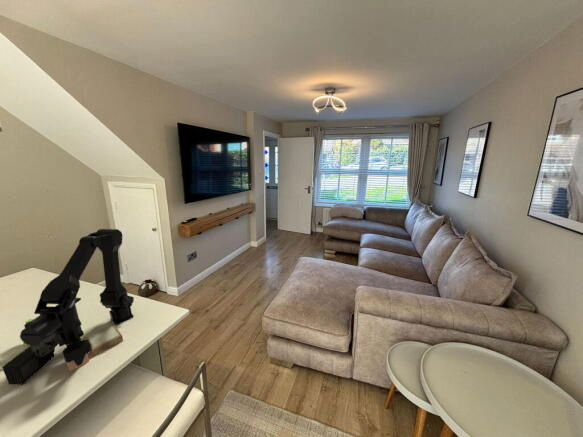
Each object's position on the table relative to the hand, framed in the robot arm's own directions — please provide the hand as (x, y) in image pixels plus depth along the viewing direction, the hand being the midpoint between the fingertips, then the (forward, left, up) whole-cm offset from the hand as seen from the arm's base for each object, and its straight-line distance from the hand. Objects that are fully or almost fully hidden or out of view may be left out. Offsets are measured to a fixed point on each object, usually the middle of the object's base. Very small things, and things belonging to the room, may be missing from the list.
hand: (77, 359), depth 80 cm
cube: (0, 0, -1) cm, 1 cm away
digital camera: (+9, -7, -1) cm, 11 cm away
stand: (-8, -3, -1) cm, 9 cm away
